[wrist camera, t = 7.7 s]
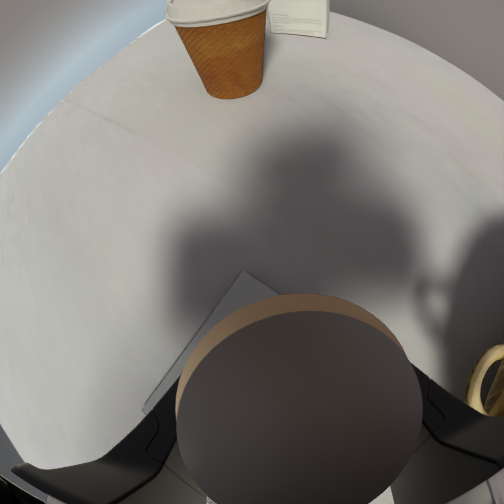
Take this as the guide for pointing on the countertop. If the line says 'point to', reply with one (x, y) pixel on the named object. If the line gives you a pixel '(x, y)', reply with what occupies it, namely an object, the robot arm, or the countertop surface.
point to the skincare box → (299, 17)
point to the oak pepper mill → (297, 405)
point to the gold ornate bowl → (500, 395)
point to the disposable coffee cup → (223, 42)
